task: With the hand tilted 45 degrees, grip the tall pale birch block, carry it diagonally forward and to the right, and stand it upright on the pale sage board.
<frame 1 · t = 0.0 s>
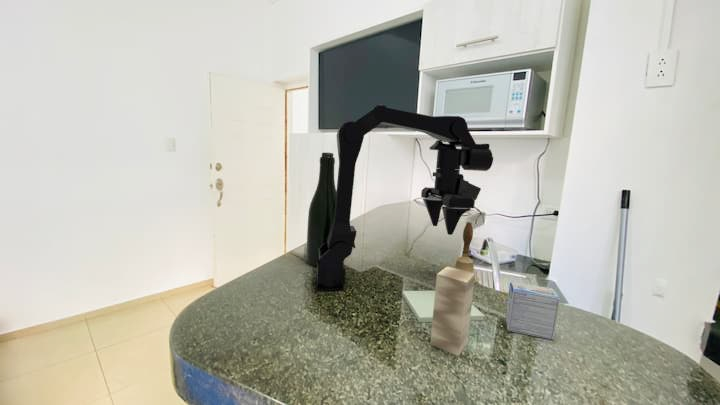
hand: (442, 230, 76), 15 cm above the countertop, tool pointing down, fingers open, 9 cm apart
beer bottle: (323, 262, 91), on the countertop
hand bell: (463, 278, 84), on the countertop
medicine box: (527, 331, 59), on the countertop
birch block: (449, 343, 53), on the countertop
sage board: (440, 306, 66), on the countertop
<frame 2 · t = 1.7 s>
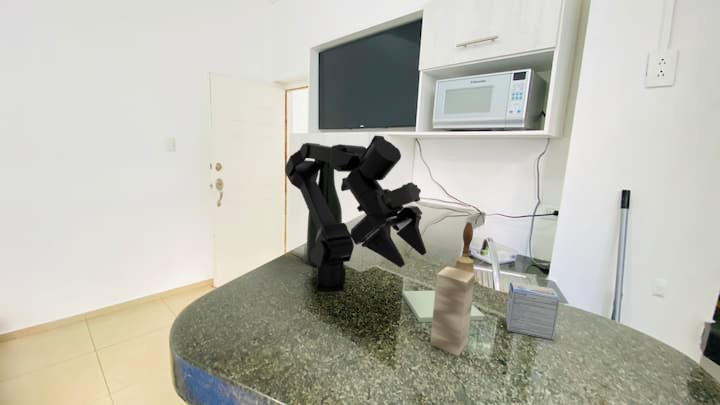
hand: (414, 259, 56), 13 cm above the countertop, tool tilted 45°, fingers open, 9 cm apart
nothing on the countertop moved.
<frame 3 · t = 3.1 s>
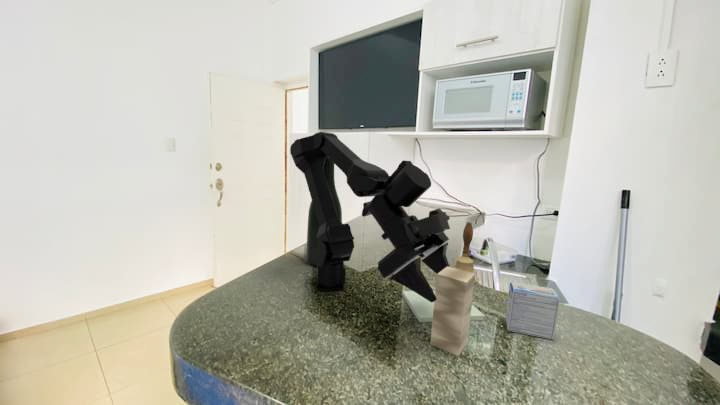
hand: (444, 292, 52), 9 cm above the countertop, tool tilted 45°, fingers open, 9 cm apart
nothing on the countertop moved.
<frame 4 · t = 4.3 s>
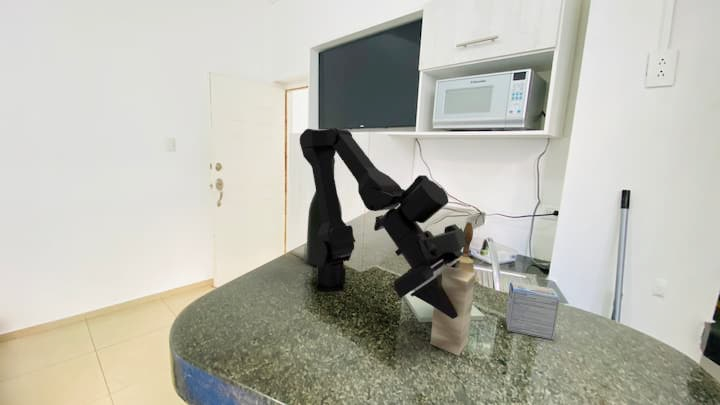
hand: (460, 311, 51), 7 cm above the countertop, tool tilted 45°, fingers closed on birch block, 5 cm apart
birch block: (449, 343, 53), on the countertop, touching gripper
everything else where it was.
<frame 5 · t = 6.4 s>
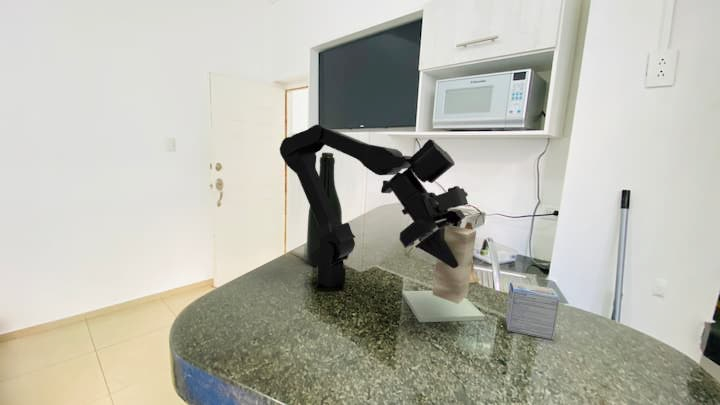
hand: (461, 263, 56), 13 cm above the countertop, tool tilted 45°, fingers closed on birch block, 5 cm apart
birch block: (450, 295, 57), point 7 cm above the countertop, touching gripper
everything else where it was.
when the fingers open (9 cm above the countertop, at t = 8.3 s): birch block drops 1 cm, resting on sage board.
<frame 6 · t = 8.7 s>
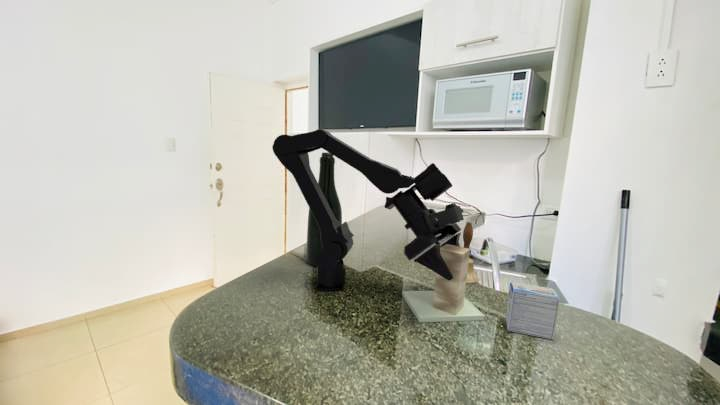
hand: (458, 273, 62), 9 cm above the countertop, tool tilted 45°, fingers open, 9 cm apart
birch block: (448, 306, 64), point 1 cm above the countertop, touching sage board
everything else where it was.
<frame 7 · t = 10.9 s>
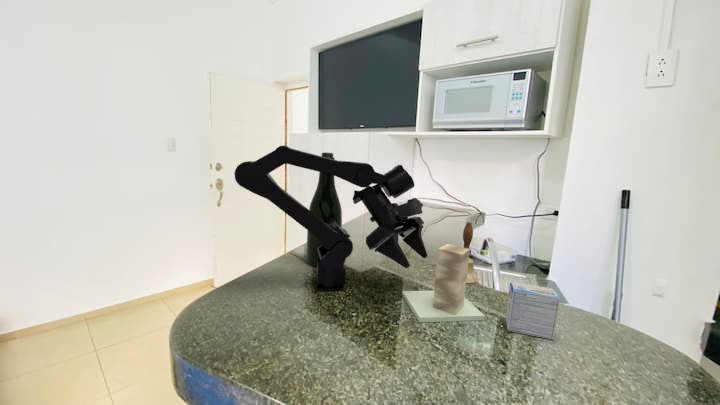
hand: (417, 262, 68), 9 cm above the countertop, tool tilted 45°, fingers open, 9 cm apart
nothing on the countertop moved.
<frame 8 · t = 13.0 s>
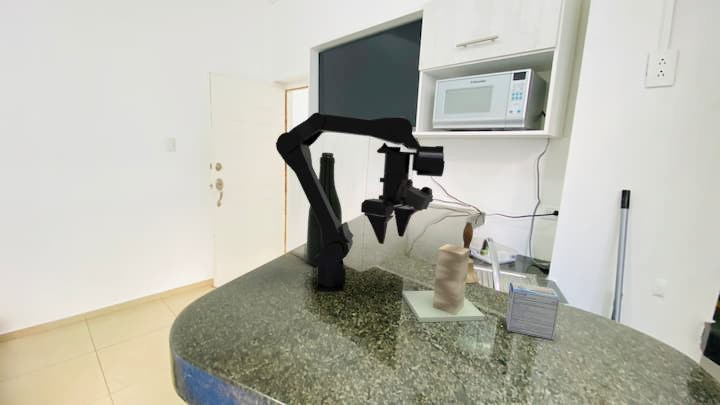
hand: (391, 239, 71), 13 cm above the countertop, tool pointing down, fingers open, 9 cm apart
nothing on the countertop moved.
at the end: birch block inside the target area on the sage board (2.2 cm from its centre), point 1.0 cm above the sage board's base; birch block tilted 0°; the gripper is holding nothing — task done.
